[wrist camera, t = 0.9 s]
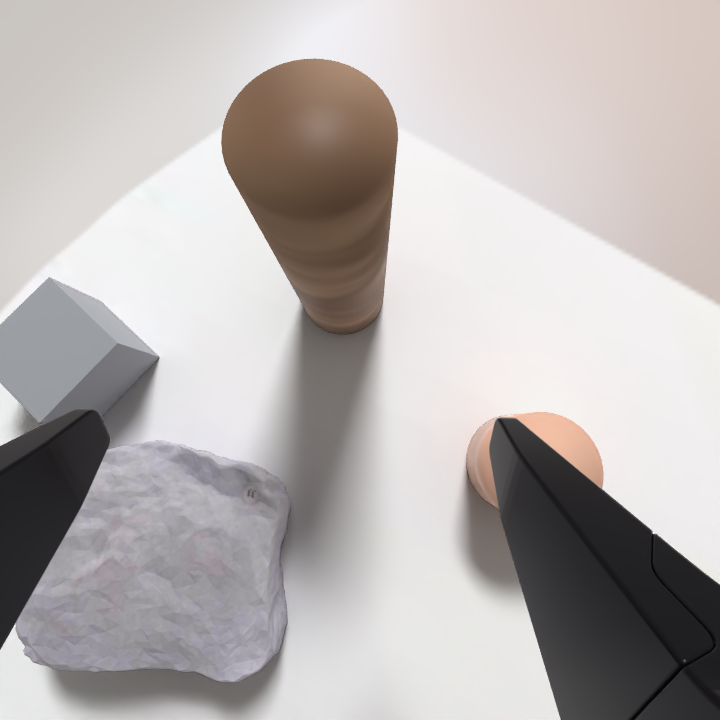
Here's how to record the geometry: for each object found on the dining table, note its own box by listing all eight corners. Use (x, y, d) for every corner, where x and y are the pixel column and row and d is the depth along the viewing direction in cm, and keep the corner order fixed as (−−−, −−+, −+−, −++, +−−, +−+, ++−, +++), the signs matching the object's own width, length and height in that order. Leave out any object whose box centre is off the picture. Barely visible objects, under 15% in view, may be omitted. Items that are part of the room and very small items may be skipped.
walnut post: (346, 350, 23) (315, 253, 10) (286, 299, 24) (185, 145, 11) (400, 290, 23) (434, 125, 11) (339, 241, 24) (303, 29, 11)
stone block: (107, 446, 24) (53, 644, 21) (52, 431, 20) (-29, 679, 16) (306, 458, 24) (286, 658, 21) (296, 445, 20) (268, 697, 16)
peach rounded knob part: (522, 532, 21) (556, 556, 17) (446, 466, 22) (463, 475, 18) (580, 458, 22) (626, 464, 18) (505, 395, 22) (534, 389, 18)
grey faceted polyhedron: (96, 424, 23) (39, 422, 19) (38, 365, 23) (-29, 352, 20) (160, 357, 23) (117, 343, 19) (102, 301, 24) (49, 277, 20)
